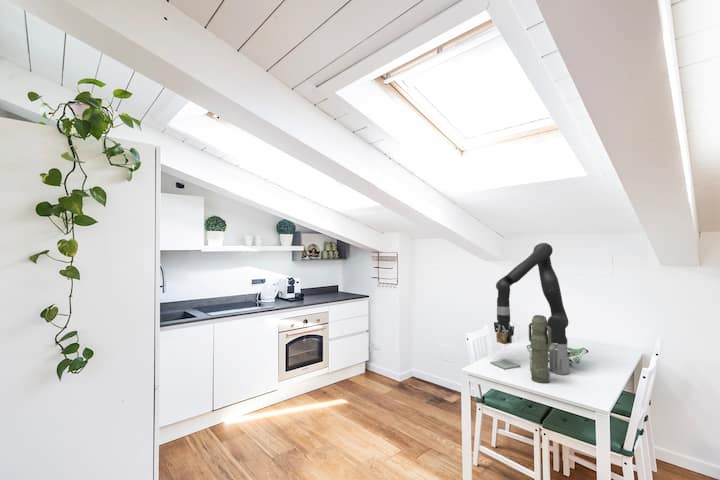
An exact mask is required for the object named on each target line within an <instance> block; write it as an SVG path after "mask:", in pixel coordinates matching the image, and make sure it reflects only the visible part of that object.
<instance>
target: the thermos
mask: <svg viewBox="0 0 720 480" xmlns="http://www.w3.org/2000/svg"><path fill="white" fill-rule="evenodd" d="M528 341H529V342H530V349H531V348H532V366H531V371H530V375H531V381H533V382H535V383H538V384H549V383H550V370H549V346H550V345H551V328H550V327H549V326H548V319H547V317H546V316H544V315H542V314H541V315H540V314H535V315H533V317H532V319H531V322H530V323H529V324H528Z"/></svg>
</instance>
